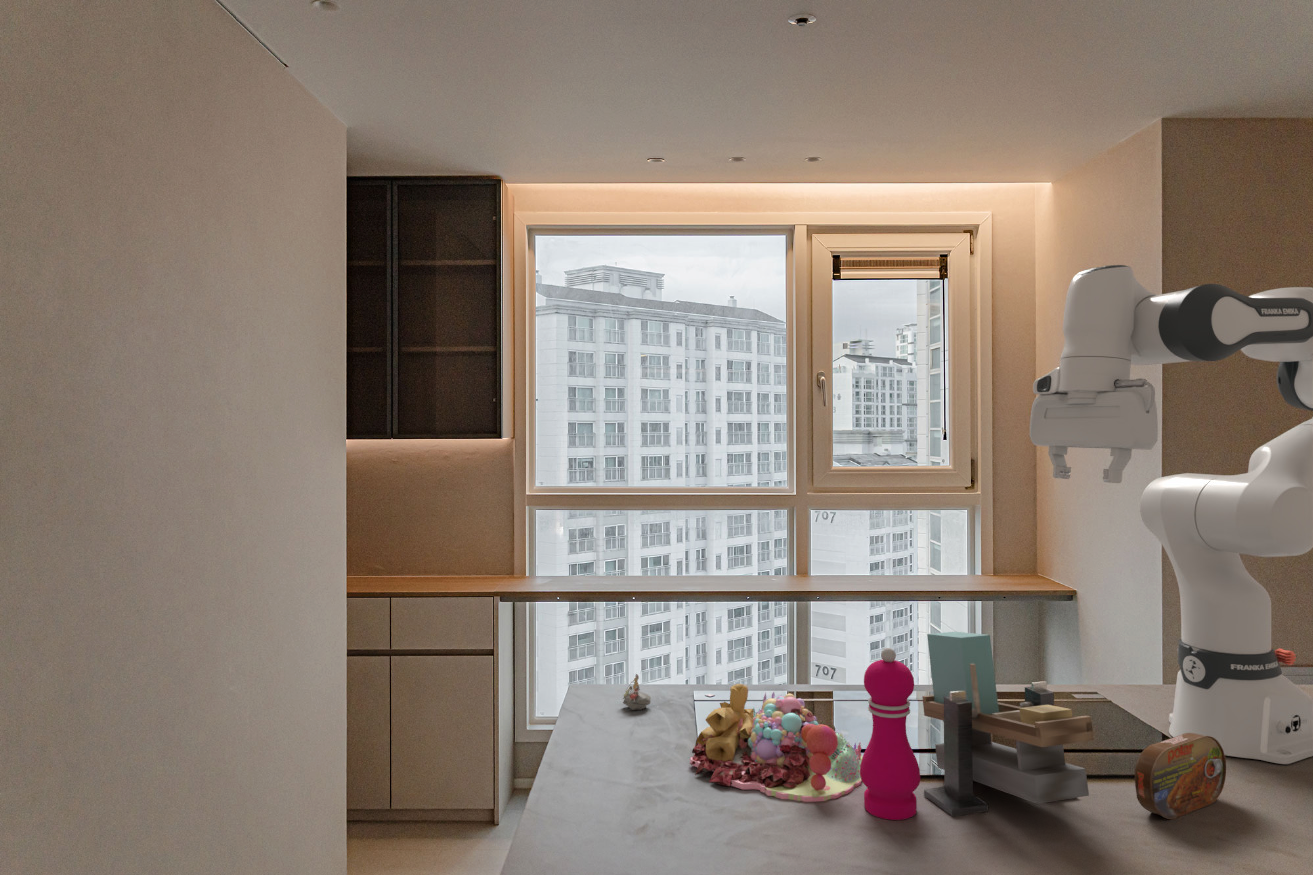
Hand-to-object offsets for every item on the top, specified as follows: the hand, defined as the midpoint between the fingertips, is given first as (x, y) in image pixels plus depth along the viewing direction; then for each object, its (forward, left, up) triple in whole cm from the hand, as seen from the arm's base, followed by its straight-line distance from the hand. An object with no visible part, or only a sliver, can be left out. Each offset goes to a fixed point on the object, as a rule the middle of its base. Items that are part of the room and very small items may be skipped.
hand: (1085, 480), depth 120 cm
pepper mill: (+34, +5, -39) cm, 52 cm away
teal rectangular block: (+19, -1, -30) cm, 36 cm away
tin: (0, +15, -39) cm, 42 cm away
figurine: (+55, -41, -39) cm, 79 cm away
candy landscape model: (+41, -13, -40) cm, 58 cm away
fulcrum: (+19, +6, -39) cm, 44 cm away
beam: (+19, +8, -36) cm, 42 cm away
